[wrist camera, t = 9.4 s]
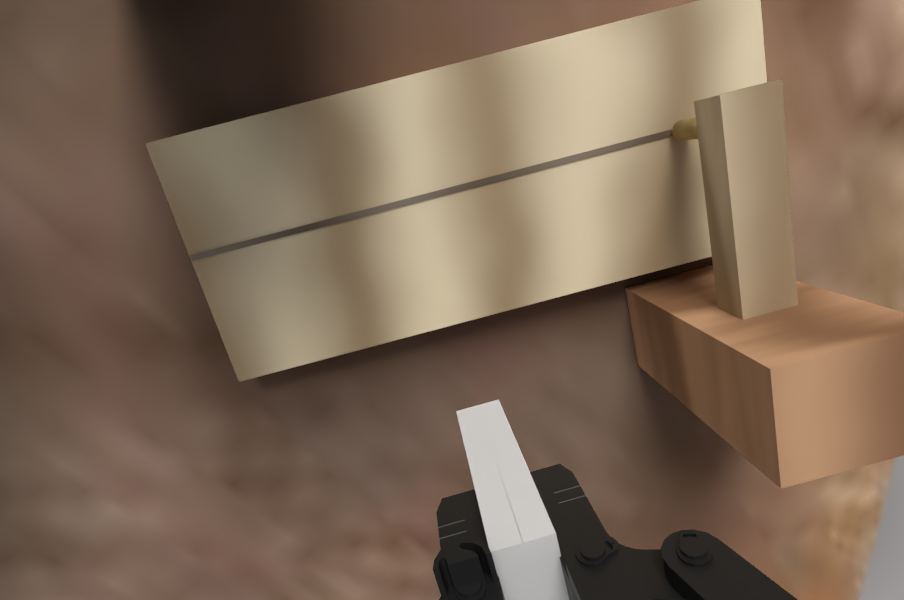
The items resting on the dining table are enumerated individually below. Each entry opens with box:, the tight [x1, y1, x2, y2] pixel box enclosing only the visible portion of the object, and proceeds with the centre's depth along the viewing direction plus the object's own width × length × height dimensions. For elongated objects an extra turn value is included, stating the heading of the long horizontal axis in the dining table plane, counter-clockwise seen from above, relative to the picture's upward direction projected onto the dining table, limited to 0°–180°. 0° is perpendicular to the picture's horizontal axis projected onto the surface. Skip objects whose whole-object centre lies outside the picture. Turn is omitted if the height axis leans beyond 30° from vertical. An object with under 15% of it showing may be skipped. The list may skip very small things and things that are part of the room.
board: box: [145, 0, 767, 382], centre depth 21 cm, size 24×10×2 cm, turn 104°
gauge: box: [625, 79, 904, 488], centre depth 19 cm, size 5×12×10 cm, turn 14°
